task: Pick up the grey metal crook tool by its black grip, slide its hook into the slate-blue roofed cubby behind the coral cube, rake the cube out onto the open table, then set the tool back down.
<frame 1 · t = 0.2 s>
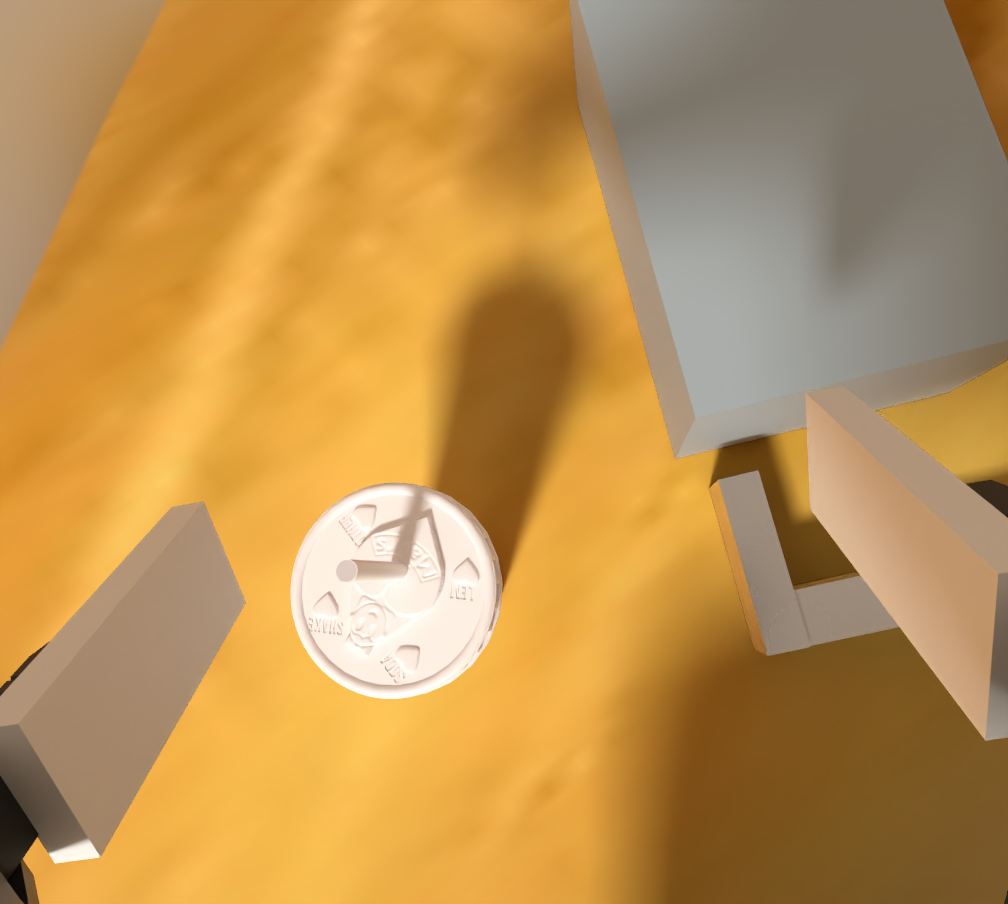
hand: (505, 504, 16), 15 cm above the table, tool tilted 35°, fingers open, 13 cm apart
smoothie: (460, 584, 31), on the table
cubby: (749, 238, 32), on the table
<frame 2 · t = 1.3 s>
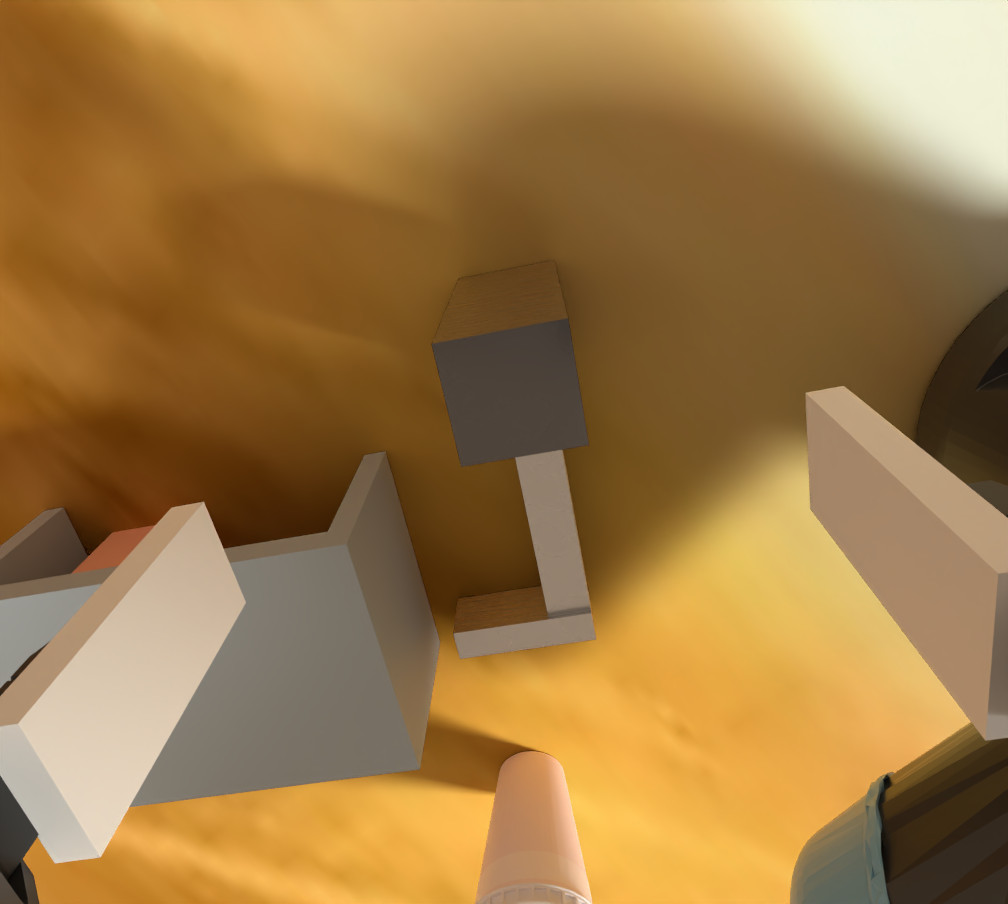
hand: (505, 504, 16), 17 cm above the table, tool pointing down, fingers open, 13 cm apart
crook: (515, 316, 31), on the table
cube: (173, 563, 37), on the table
smoothie: (531, 772, 42), on the table
cubby: (249, 579, 37), on the table
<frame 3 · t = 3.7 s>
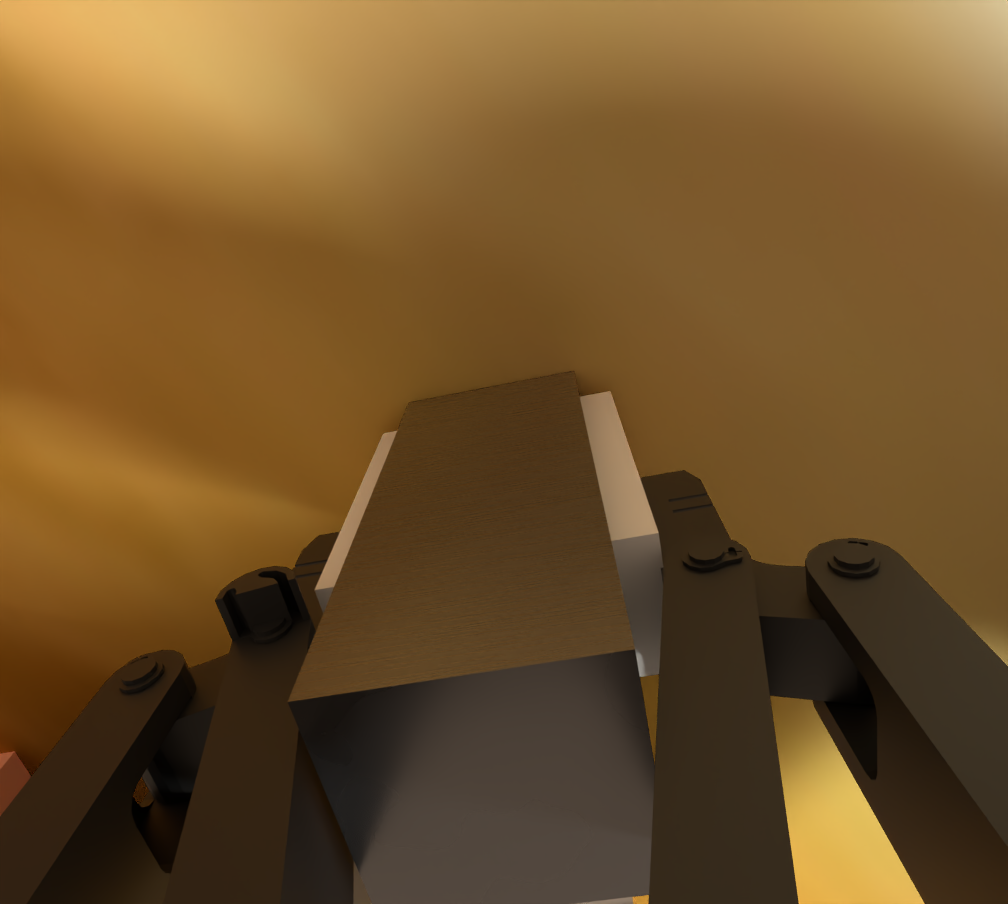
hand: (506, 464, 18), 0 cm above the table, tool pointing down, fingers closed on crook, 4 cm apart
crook: (507, 462, 18), on the table, touching gripper
cubby: (103, 832, 24), on the table
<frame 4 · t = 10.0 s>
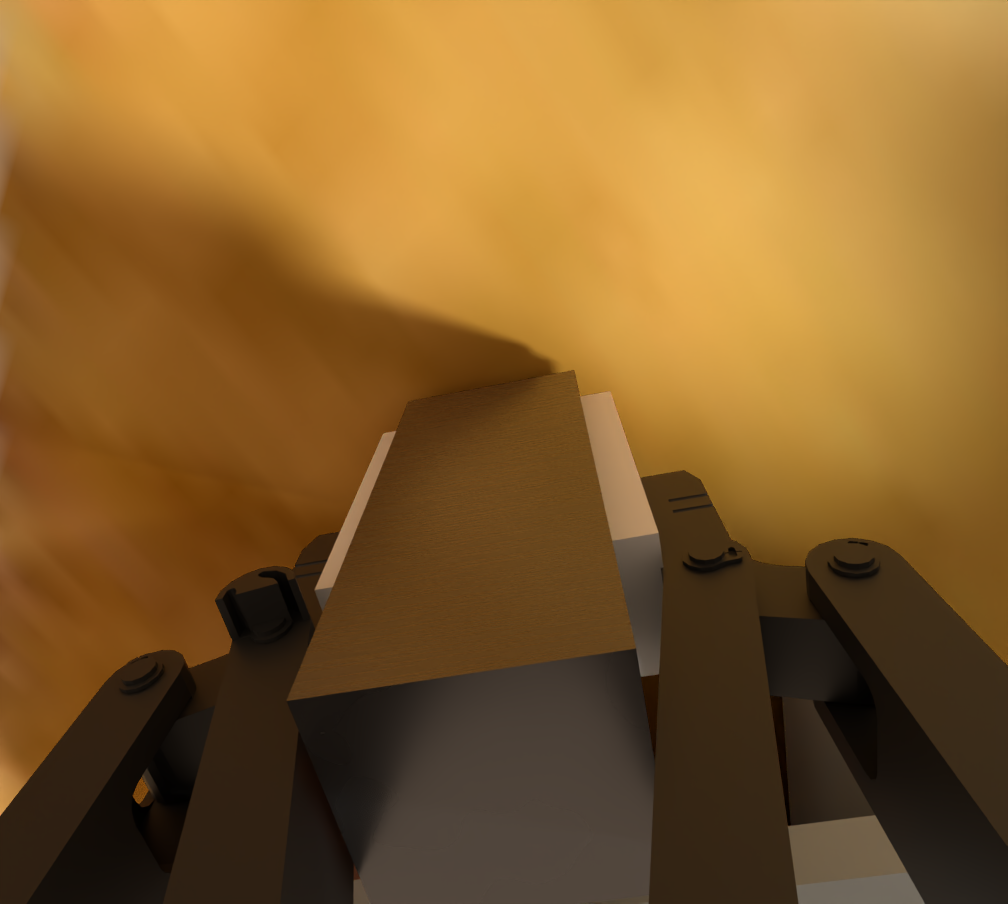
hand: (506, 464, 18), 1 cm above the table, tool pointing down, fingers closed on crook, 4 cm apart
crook: (507, 461, 18), point 1 cm above the table, touching gripper
cubby: (547, 776, 24), on the table
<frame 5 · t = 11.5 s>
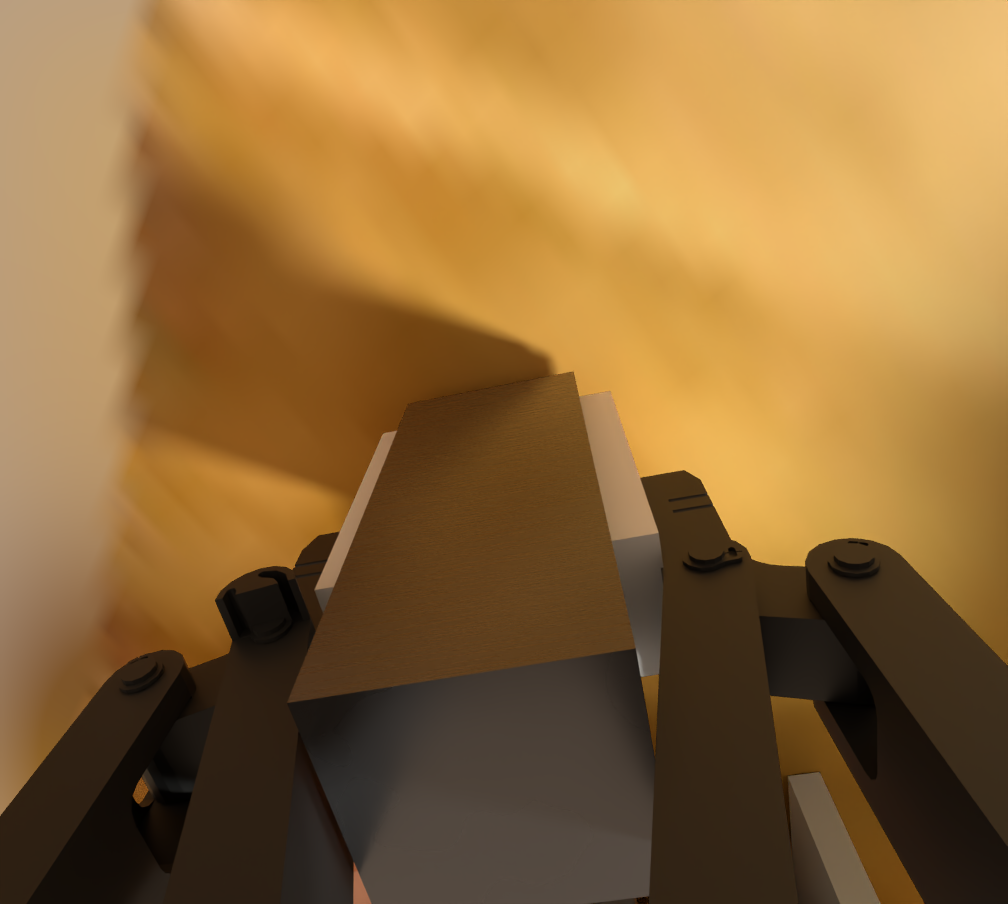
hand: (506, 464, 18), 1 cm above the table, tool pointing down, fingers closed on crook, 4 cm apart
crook: (507, 463, 18), point 1 cm above the table, touching gripper
cube: (440, 784, 24), on the table
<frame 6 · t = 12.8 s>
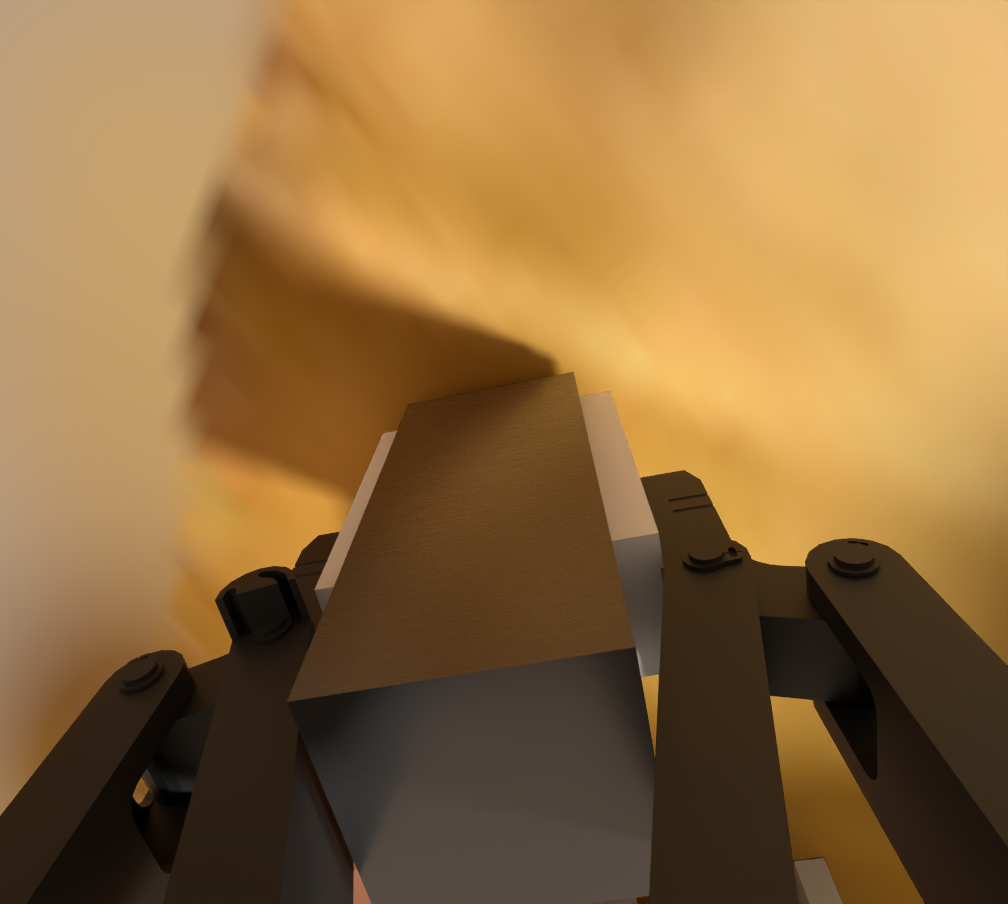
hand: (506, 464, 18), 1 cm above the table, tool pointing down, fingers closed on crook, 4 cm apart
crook: (507, 463, 18), point 1 cm above the table, touching gripper
cube: (440, 783, 24), on the table
when the fingers open (1 cm above the table, at t = 16.5 s): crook stays where it is, on the table.
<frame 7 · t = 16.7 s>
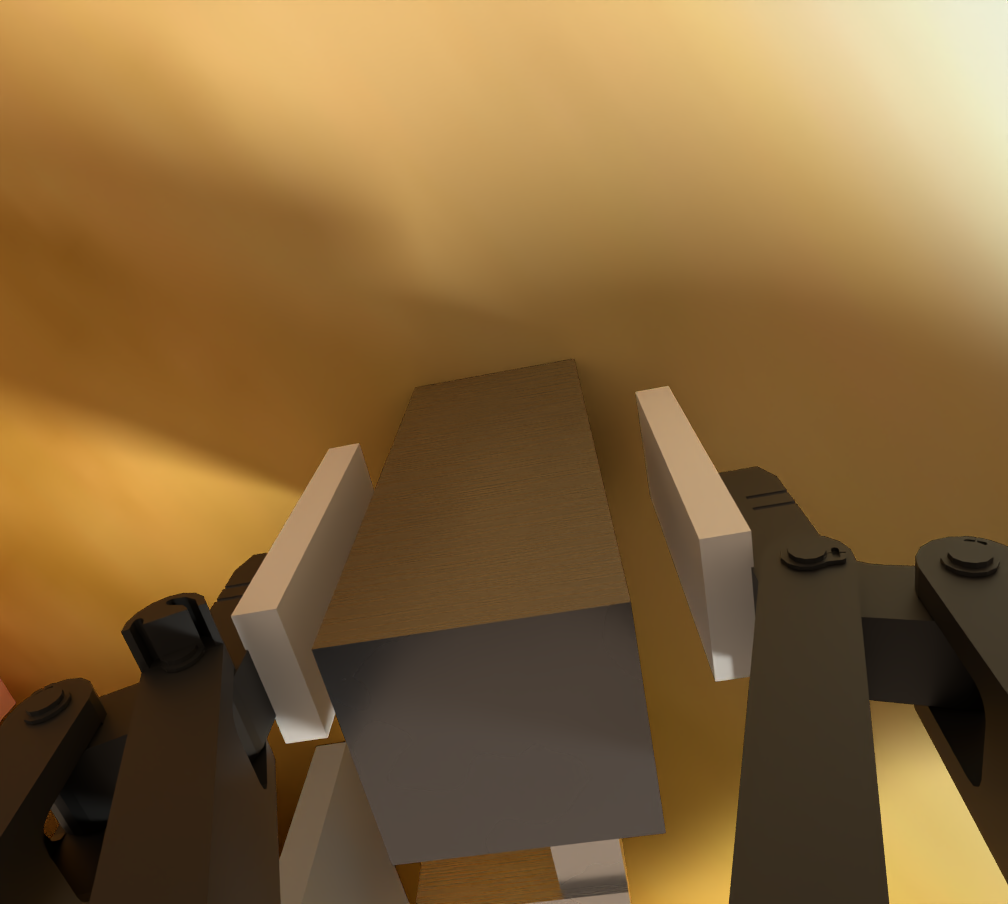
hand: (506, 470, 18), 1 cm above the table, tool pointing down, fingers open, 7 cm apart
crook: (509, 446, 19), on the table
cubby: (162, 889, 26), on the table
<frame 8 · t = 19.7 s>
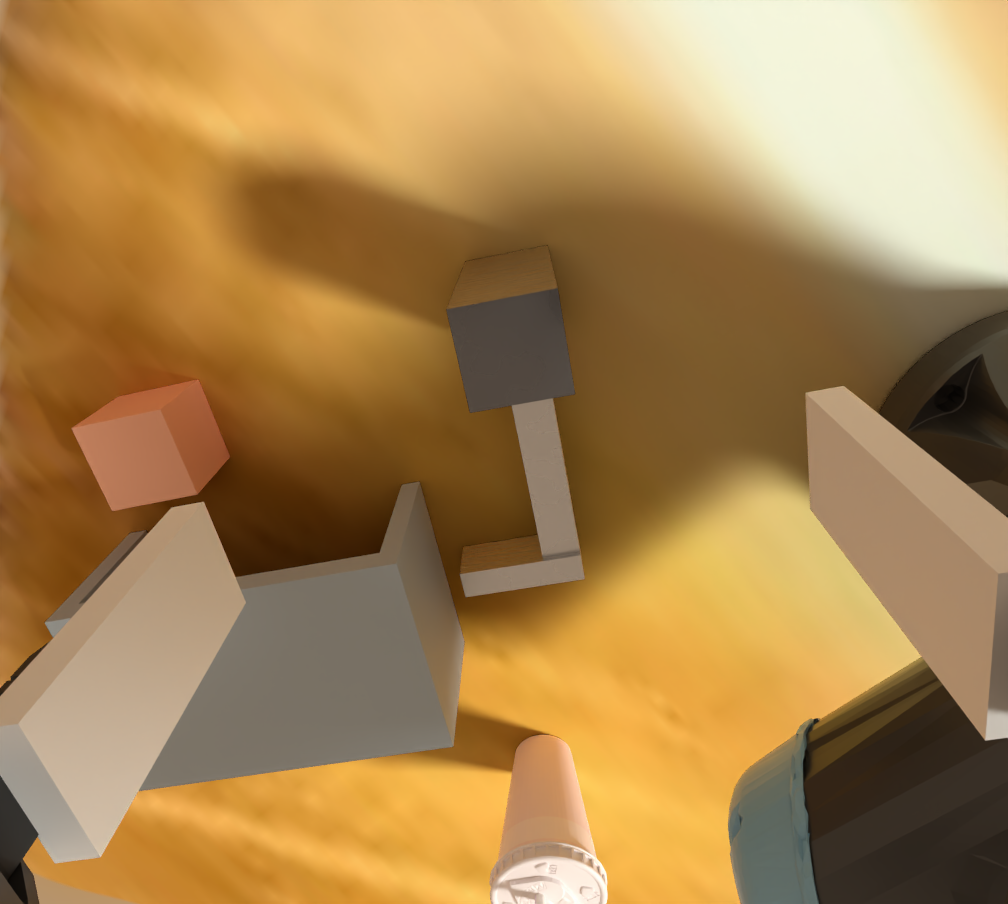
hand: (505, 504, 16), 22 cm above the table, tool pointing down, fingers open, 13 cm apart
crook: (514, 294, 36), on the table
cube: (175, 426, 39), on the table
smoothie: (543, 753, 48), on the table
cubby: (302, 589, 43), on the table
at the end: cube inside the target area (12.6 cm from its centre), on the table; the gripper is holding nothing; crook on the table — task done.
